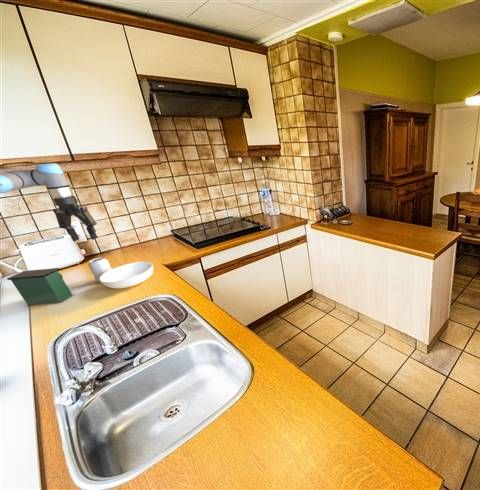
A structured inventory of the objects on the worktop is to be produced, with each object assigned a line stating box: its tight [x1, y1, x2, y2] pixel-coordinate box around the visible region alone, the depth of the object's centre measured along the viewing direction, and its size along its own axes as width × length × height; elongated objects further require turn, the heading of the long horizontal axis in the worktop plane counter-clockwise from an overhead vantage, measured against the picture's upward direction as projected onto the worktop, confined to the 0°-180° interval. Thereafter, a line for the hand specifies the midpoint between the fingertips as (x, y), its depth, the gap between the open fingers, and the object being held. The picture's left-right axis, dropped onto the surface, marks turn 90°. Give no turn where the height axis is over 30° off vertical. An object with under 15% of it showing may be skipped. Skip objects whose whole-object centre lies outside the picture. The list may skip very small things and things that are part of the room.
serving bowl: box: [100, 261, 154, 289], centre depth 135 cm, size 21×21×7 cm
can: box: [87, 256, 113, 283], centre depth 139 cm, size 8×8×12 cm
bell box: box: [6, 267, 73, 307], centre depth 122 cm, size 15×7×15 cm, turn 95°
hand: (85, 239), depth 138 cm, fingers open, 8 cm apart
